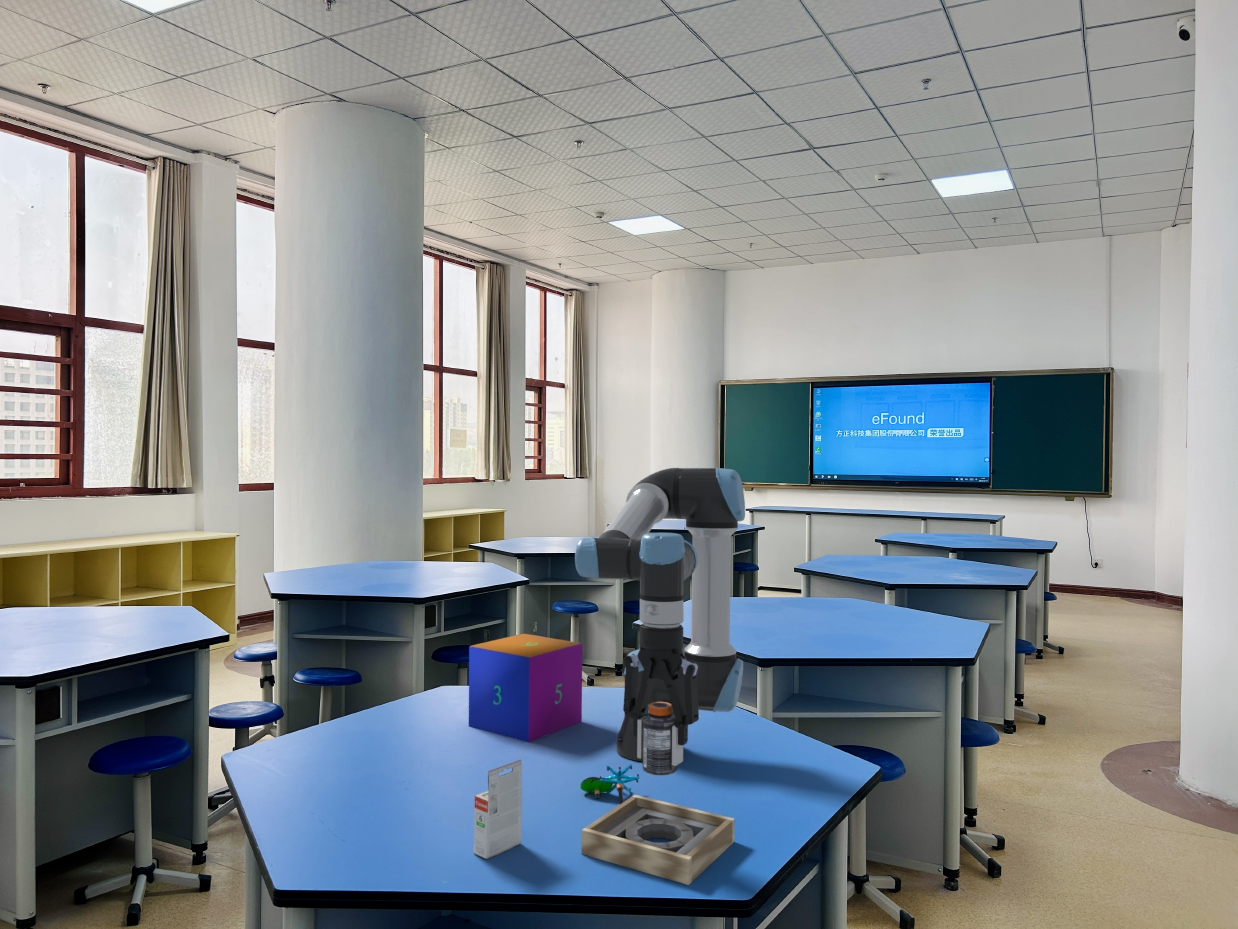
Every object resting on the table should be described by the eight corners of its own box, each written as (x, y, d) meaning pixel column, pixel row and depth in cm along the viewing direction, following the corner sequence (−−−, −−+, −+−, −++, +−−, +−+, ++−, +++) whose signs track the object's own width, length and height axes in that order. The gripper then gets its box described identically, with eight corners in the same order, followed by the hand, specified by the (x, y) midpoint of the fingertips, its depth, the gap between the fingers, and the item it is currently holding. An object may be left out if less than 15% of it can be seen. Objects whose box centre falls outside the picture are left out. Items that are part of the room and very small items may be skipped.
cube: (523, 708, 227) (523, 633, 227) (581, 722, 215) (582, 643, 215) (468, 726, 211) (469, 646, 211) (528, 742, 199) (529, 657, 199)
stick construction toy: (642, 779, 171) (633, 756, 166) (647, 810, 165) (636, 787, 161) (585, 793, 172) (574, 771, 167) (588, 824, 166) (576, 802, 161)
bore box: (581, 853, 142) (581, 830, 142) (634, 816, 158) (634, 794, 158) (688, 885, 132) (688, 859, 132) (734, 841, 147) (734, 818, 147)
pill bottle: (658, 762, 149) (659, 697, 149) (684, 770, 145) (685, 704, 145) (635, 770, 145) (635, 703, 145) (660, 779, 140) (661, 711, 141)
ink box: (472, 854, 142) (473, 766, 142) (507, 838, 148) (508, 754, 148) (487, 860, 140) (487, 772, 140) (522, 844, 146) (523, 759, 146)
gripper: (602, 621, 147) (601, 755, 146) (702, 633, 137) (700, 777, 137) (624, 615, 153) (623, 743, 153) (721, 626, 143) (720, 763, 143)
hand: (659, 759), depth 145 cm, fingers closed on pill bottle, 6 cm apart
